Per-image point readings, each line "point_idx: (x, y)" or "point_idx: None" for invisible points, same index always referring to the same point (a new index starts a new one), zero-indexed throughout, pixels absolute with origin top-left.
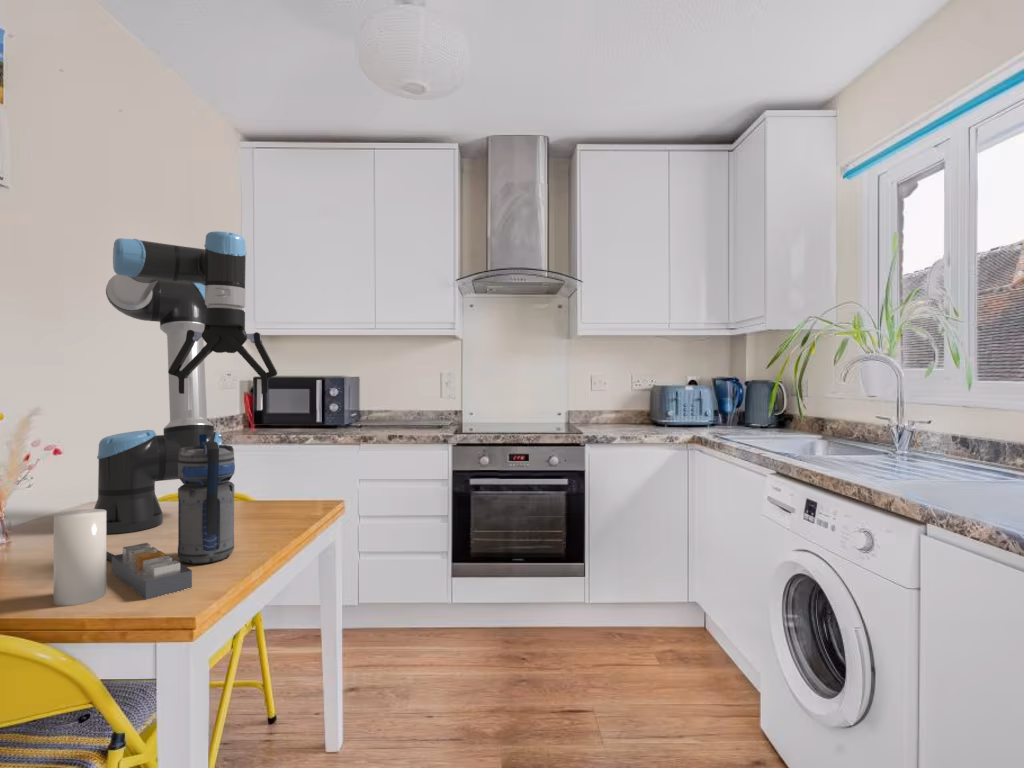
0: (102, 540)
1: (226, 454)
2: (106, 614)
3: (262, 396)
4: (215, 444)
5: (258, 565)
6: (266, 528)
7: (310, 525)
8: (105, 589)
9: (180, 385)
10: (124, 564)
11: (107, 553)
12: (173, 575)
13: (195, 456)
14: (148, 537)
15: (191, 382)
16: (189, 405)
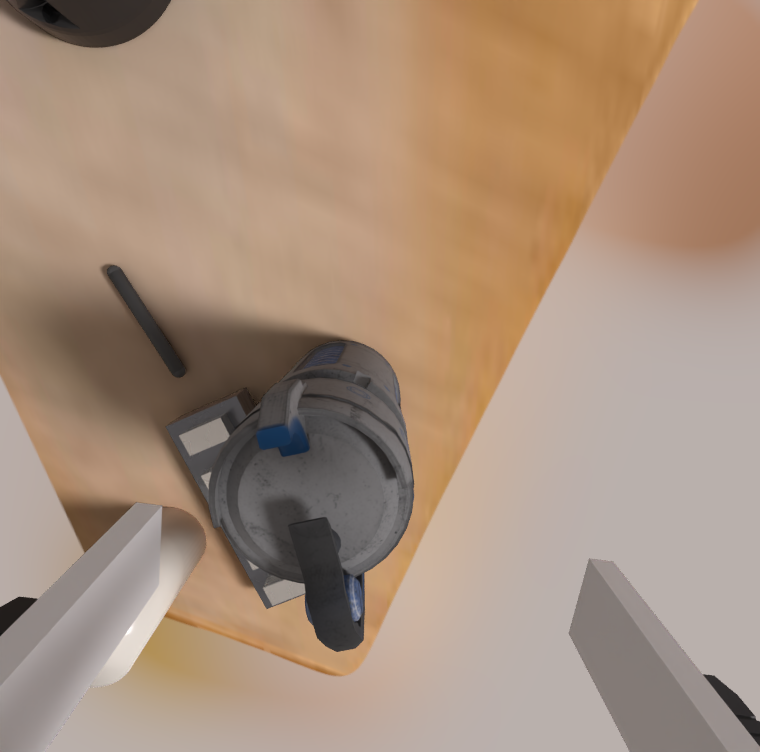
0: (162, 616)
1: (387, 551)
2: (232, 625)
3: (667, 632)
4: (349, 642)
5: (444, 484)
6: (480, 159)
7: (598, 176)
8: (203, 547)
9: None
10: (207, 499)
11: (137, 316)
12: (305, 593)
13: (282, 578)
14: (183, 129)
15: (22, 671)
16: (145, 575)
